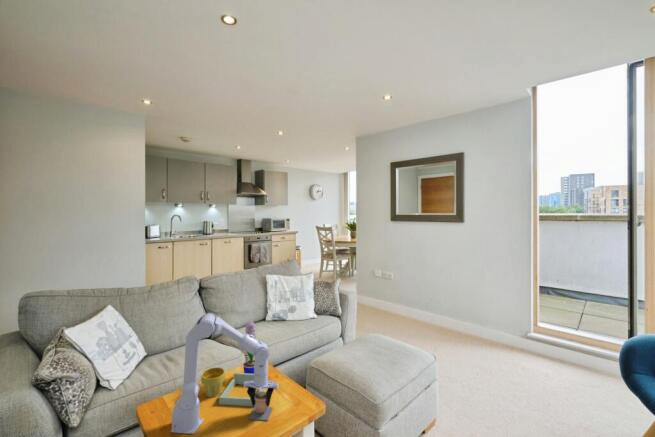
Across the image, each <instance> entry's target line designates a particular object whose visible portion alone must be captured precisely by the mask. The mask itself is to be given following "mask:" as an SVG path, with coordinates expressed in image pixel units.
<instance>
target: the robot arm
mask: <svg viewBox="0 0 655 437" xmlns="http://www.w3.org/2000/svg"><path fill="white" fill-rule="evenodd" d="M212 334H213V336H216V335H220V334H223V335H224V336H226V337H228V338H230V339H232V340H234V342H237V343H238V347H239V348H240V349H242V350H243V349H244V350H243V351H245V352H246V351H247V352H248V353H250V354H252V355H254V357H253V359H254V360H255V362H254V380H253V381H245V382H244V384H243V389H247V390H246V393H247V395H248V396H249V398H250V399H251V402H252V406H251V407H255V406H254V405H255V399H254V395H255V394H256V393H257V391H259V390H261V389H265V388H266V389H267V390H266V389H265V390H266V391H265V392H266V396H267V407H270V404H271V399H272V395H273V392H274V391H278V389H279V382H274V381H272V380H269V361H268V359H269V356H270V355H269V354H270V353H269V348H268V344H267V343H266V342H265V341H263V340H258V339H257V338H256V339H255V338H253V335H251V334H250V335H249V334H246V333H241V332H240V331H239V330H237V329H236V328H234V327H233V326H232V325H230V324H229V323H227V322H226V321H225V320H223V319H222V318H221V317H220V316H216V315H215V314H214V313H211V312H208V313H204V314H202V315H201V316H200V317H199V318H198V319H197V321H196V323H195V324H194V325H193V326H192V327H191V329H190V330H189V332H188V333H187V335H186V336H185V338H186V339H185V352H184V371H183V384H182V388H181V389H182V390H181V395H180V396H181V397H180V396H179V398H180V399H179V398H178V399H179V403H177V404H176V403H175V404H176V405H175V404H174V407H173V409H172V412H171V430H170V433H178V434H188V435H189V434H190V435H191V434H192V435H194V434H195V433H196V431H197V430H198V429H199V427H200V426H201V425H202V423H203V422H204V421H205V419H204V418H200V399H199V397H198V396H199V392H200V384H199V383H198V380H199V379H198V367H199V366H198V365H199V364H198V362H199V347H200V346H199V345H200V341H202V339H204V338H207V337H209V336H211V335H212ZM247 352H246V353H247Z"/></svg>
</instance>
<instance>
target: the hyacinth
mask: <svg viewBox="0 0 655 437" xmlns="http://www.w3.org/2000/svg"><path fill="white" fill-rule="evenodd" d="M244 327H245V330H244V331H245V332H244V334H248V335H250V334H251V335H253V338H255V339H256V340H257V333H256V332H257V327H256V324H255V323H254V321H252V320H248V321H247V323H246V324H245V326H244ZM242 350H243V351H245V350H244V349H242ZM245 352H246V353H247V356H248V357H249V359H248V360H245V361H244V362H243V363H242V366H243V373H247V374H254V362H255V359H254V355H252V354H250V353H248V352H247V351H245Z"/></svg>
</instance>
